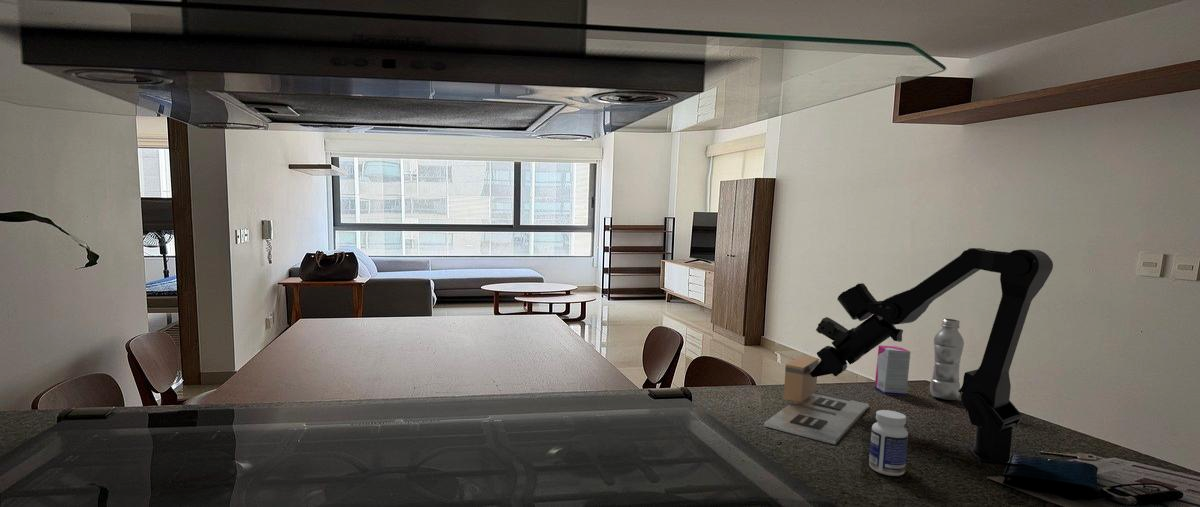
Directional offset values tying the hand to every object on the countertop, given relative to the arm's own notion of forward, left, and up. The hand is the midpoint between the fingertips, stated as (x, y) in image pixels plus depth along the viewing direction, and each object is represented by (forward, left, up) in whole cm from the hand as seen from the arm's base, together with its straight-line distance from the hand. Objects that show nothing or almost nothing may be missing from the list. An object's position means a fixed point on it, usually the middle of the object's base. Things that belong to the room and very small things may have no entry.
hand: (811, 375), depth 137 cm
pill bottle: (-35, -7, -7) cm, 36 cm away
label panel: (-9, 0, -7) cm, 11 cm away
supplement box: (+17, -23, -7) cm, 29 cm away
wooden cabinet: (+1, +2, -5) cm, 6 cm away
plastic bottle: (+15, -35, -7) cm, 39 cm away
